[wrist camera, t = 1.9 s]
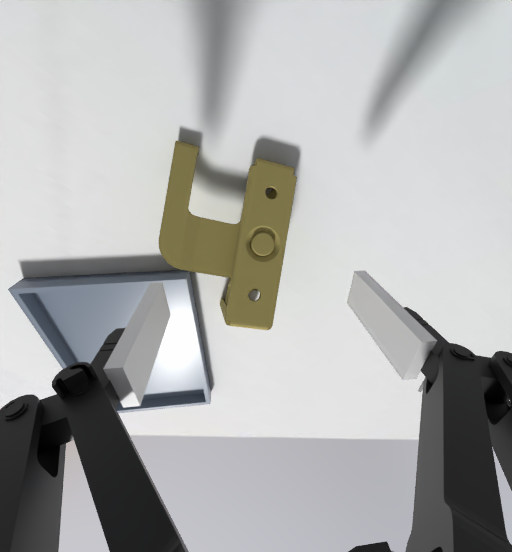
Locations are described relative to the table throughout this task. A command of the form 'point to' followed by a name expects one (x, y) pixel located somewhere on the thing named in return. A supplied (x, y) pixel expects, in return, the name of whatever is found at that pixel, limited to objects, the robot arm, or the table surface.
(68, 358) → the tray
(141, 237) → the table surface
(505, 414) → the robot arm
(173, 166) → the bracket
